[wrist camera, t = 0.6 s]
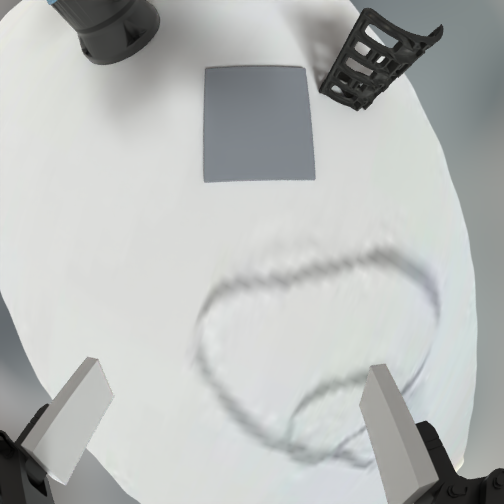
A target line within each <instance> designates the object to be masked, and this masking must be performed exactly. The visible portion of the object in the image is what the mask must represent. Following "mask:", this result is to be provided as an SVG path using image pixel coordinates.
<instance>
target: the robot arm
mask: <svg viewBox="0 0 504 504" xmlns="http://www.w3.org/2000/svg"><path fill="white" fill-rule="evenodd" d="M47 1H48V4H49V5H51V6H52V7H53V8H54V9H55V10H56V11H57V12H58V13H59V14H60V15H61V16H62V17H63V18H64V19H65V20H66V21H67V22H68V23H69V24H70V25H71V26H72V27H73V28H74V29H75V31H76V32H77V34H78V37H79V41H80V45H81V48H82V51H83V53H84V55H85V56H86V57H87V58H88V59H89V60H90V61H91V62H92V63H95V64H98V65H108V64H113V63H116V62H119V61H122V60H124V59H126V58H128V57H130V56H132V55H133V54H135V53H136V52H138V51H139V50H140V49H142V48H143V47H144V46H145V45H146V44H147V43H148V42H149V41H150V40H151V39H152V38H153V37H154V35H155V34H156V32H157V30H158V27H159V23H160V18H159V15H158V13H157V11H156V9H155V7H154V6H153V5H152V4H150V3H149V2H148V1H146V0H47ZM113 398H114V394H113V392H112V390H111V388H110V386H109V383H108V381H107V379H106V376H105V374H104V372H103V369H102V367H101V364H100V362H99V359H95V358H90V357H87V358H86V359H85V360H84V362H83V363H82V364H81V365H80V366H79V368H78V369H77V370H76V371H75V373H74V374H73V375H72V376H71V378H70V379H69V380H68V382H67V383H66V384H65V385H64V387H63V388H62V389H61V391H60V392H59V393H58V395H57V396H56V397H55V398H54V400H53V401H52V402H51V404H50V405H49V404H45V405H44V406H43V407H41V408H40V409H39V410H38V411H37V413H36V414H35V415H34V417H33V418H32V419H31V421H30V423H28V425H27V426H26V428H25V429H24V430H23V432H22V433H21V435H20V436H19V437H18V439H17V440H16V441H15V443H14V442H13V441H12V440H11V439H10V438H9V436H8V435H7V434H6V433H5V432H4V431H2V430H0V504H54V500H53V497H52V493H51V490H50V485H49V481H48V479H47V477H46V474H47V473H48V474H49V475H50V476H51V477H52V478H53V479H54V480H56V481H58V482H60V483H62V484H64V485H67V483H68V481H69V479H70V477H71V475H72V472H73V471H74V469H75V467H76V465H77V463H78V461H79V459H80V457H81V455H82V454H83V452H84V450H85V448H86V446H87V444H88V443H89V441H90V439H91V437H92V435H93V433H94V432H95V430H96V428H97V426H98V424H99V423H100V421H101V419H102V417H103V416H104V414H105V412H106V410H107V409H108V407H109V405H110V403H111V402H112V400H113ZM359 406H360V409H361V412H362V415H363V418H364V421H365V424H366V428H367V431H368V434H369V437H370V441H371V444H372V447H373V451H374V454H375V457H376V461H377V464H378V468H379V471H380V475H381V479H382V482H383V486H384V490H385V494H386V498H387V502H388V504H413V503H414V504H504V469H502V468H499V469H495V470H494V471H493V472H491V473H490V474H489V475H488V476H486V477H481V478H476V479H466V478H464V477H462V476H459V475H458V474H457V473H456V472H455V470H454V468H453V465H452V463H451V461H450V459H449V457H448V455H447V452H446V450H445V448H444V446H442V445H443V444H442V442H441V440H440V439H439V436H438V434H437V432H436V430H435V428H434V427H433V426H432V425H431V424H430V423H428V422H427V421H423V422H420V423H417V424H415V422H414V420H413V418H412V416H411V414H410V412H409V410H408V408H407V406H406V403H405V401H404V399H403V397H402V395H401V393H400V391H399V389H398V387H397V385H396V383H395V381H394V379H393V377H392V375H391V373H390V372H389V370H388V368H387V366H386V364H380V365H373V366H370V370H369V373H368V377H367V381H366V384H365V388H364V391H363V394H362V398H361V401H360V404H359Z"/></svg>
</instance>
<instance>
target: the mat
mask: <svg viewBox="0 0 504 504" xmlns="http://www.w3.org/2000/svg"><path fill="white" fill-rule="evenodd" d="M315 179H316V178H315V161H314V147H313V134H312V123H311V112H310V103H309V94H308V85H307V77H306V69H305V68H297V67H270V66H252V67H225V68H211V69H206V70H205V100H204V182H205V183H207V182H227V181H257V180H315Z"/></svg>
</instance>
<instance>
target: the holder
mask: <svg viewBox="0 0 504 504" xmlns="http://www.w3.org/2000/svg"><path fill="white" fill-rule="evenodd" d="M369 24H372V25H375V26H376V27H377V28H379V29H380V30H382V31H383V32H385V33H386V34H388V35H390V36H391V37H393V38H395V39H397V40H398V43H396V45H395V46H394V47H393V48H388V47H386V46H384V45H382V44H380V43H378V42H377V41H375V40H374V39H372V38H371V37H369V36H368V35H367V34H366V33H365V29H366V28H367V26H368V25H369ZM442 35H443V26H442V24H441V25H440V26H439V27H438V28H437V29H435V30H434V31H433V32H432V33H431V34H430V35H428V36H427V37H426V36H420V35H416V34H413V33H410V32H407V31H405V30H403V29H401V28H399V27H397V26H395V25H394V24H392V23H390V22H389V21H388V20H386V19H385V18H383V17H382V16H381V15H379V14H378V13H377V12H376V11H374V10H373V9H371V8H364V9H363V11H362V12H361V14H360V16H359V18H358V19H357V21H356V23H355V25H354V27H353V29H352V30H351V32H350V34H349V36H348V38H347V40H346V42H345V44H344V46H343V48H342V49H341V51H340V53H339V55H338V57H337V59H336V61H335V63H334V64H333V66H332V68H331V70H330V72H329V74H328V76H327V78H326V79H325V80H324V82H323V83H322V85H321V87H320V90H319V93H322V94H324V95H327V96H328V97H330V98H331V99H333V100H334V101H336V102H338V103H341V104H343V105H346V106H349V107H352V108H353V109H354V110H356V111H358V110H359V109H360V108H361V107H363V109H364V110H366V109H367V108H368V107H369V106H370V105H371V104H372V102H373V100H374V99H375V98H376V97H377V96H378V95H379V94H380V93H381V92H384V91H385V90H386V89H387V88H388V87H389V85H390V84H391V83H392V82H393V81H394V80H395V79H396V78H397V77H398V78H399V77H400V76H401V75H402V74H403V73H404V72H405V71H406V70H407V69H408V68H409V67H410V66H411V65H412V64H413V63H414V62H415V61H416V60H417V59H418V58H419V57H421V56H422V55H423V54H424V53H425V50H427V49H428V48H430V47H431V46H433V45H434V44H435V43H436V42H438V41H439V40H440V39H441V37H442ZM358 41H359V42H362V43H363V44H365V45H366V46H368V47H369V48H371V49H370V51H369V52H368V54H367V55H366V56H364V55H361V54H360V53H358V52H357V51H356V50H355V48H354V47H355V46H356V44H357V43H358ZM381 56H385V58H384V60H383V61H382V62H381V63H377V62H376V61H377V60H378V59H379V58H380V57H381ZM349 57H350V58H352V59H354V60H355V61H357V62H358V63H360V64H361V65H363V66H365V67H367V68H369V69H371V70H373V72H372V74H371V75H370V76H367V75H365V74H363V73H361V72H357V71H354V70H353V69H351V68H350V67H348V66H347V65H346V64H345V63H346V61H347V59H348V58H349ZM360 83H363V85H362V86H361V87H360V85H359V84H360ZM334 85H336V86H338V87H339V88H341V89H342V91H343V92H344V94H345V96H346V97H343V96H341V95H338V94H337V93H335V92H333V91H332V90H331V88H332V87H333V86H334Z"/></svg>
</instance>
